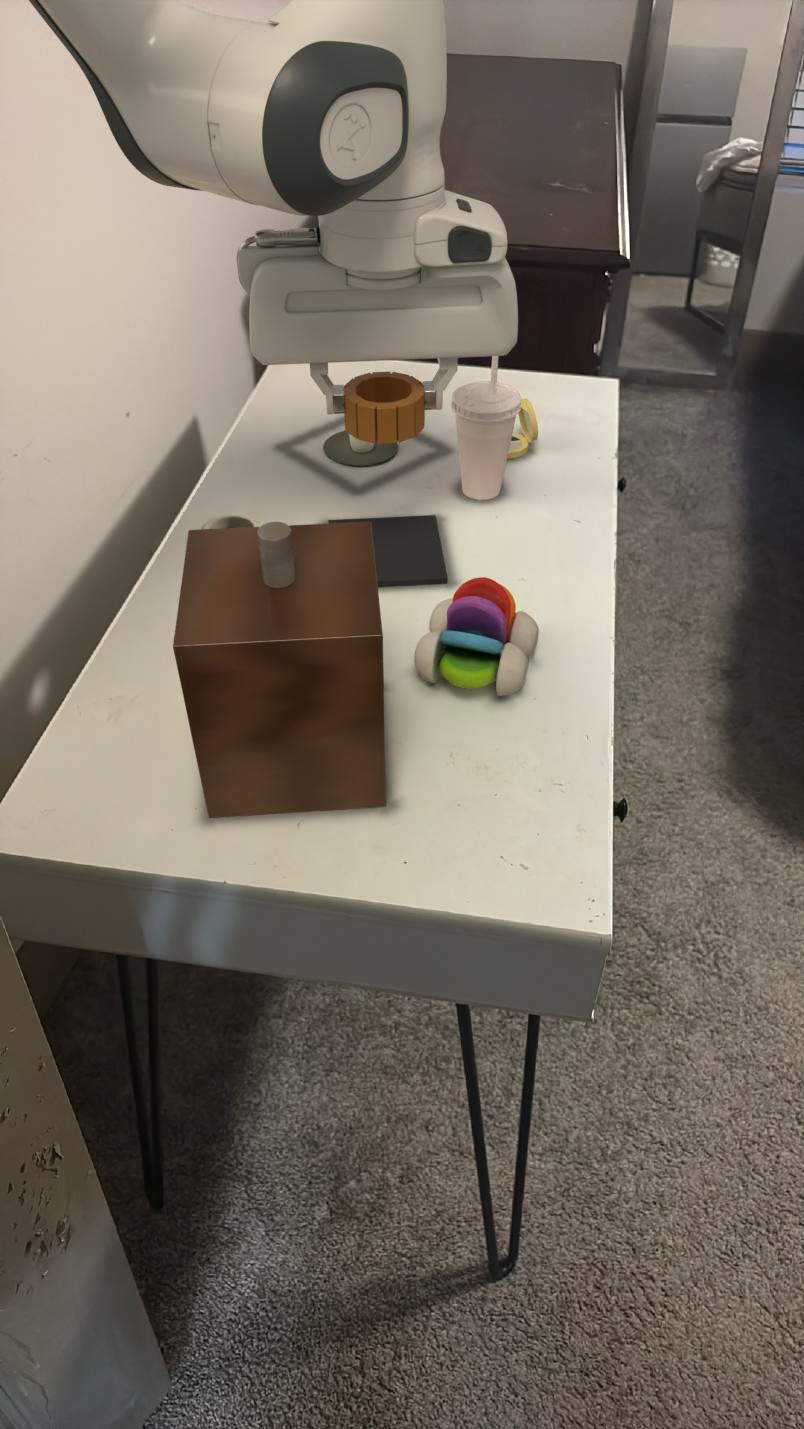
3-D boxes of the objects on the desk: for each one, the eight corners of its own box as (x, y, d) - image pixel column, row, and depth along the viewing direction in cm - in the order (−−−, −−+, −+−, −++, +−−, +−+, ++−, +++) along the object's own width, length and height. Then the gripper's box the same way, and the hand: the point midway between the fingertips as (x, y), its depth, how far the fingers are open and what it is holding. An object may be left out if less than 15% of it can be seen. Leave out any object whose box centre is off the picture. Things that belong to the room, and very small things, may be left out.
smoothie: (516, 507, 95) (528, 365, 85) (448, 507, 95) (453, 365, 85) (512, 473, 100) (523, 334, 90) (447, 472, 100) (452, 334, 90)
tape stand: (208, 818, 67) (162, 596, 54) (217, 697, 76) (180, 482, 63) (386, 807, 68) (381, 586, 55) (375, 688, 77) (369, 474, 64)
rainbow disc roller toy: (541, 639, 81) (550, 564, 76) (514, 718, 74) (522, 642, 69) (441, 619, 83) (443, 545, 78) (405, 694, 76) (405, 619, 71)
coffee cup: (282, 447, 104) (277, 402, 100) (369, 410, 109) (367, 366, 106) (357, 492, 97) (355, 445, 94) (445, 450, 103) (447, 405, 100)
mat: (331, 589, 86) (331, 583, 85) (328, 525, 93) (328, 519, 93) (447, 583, 86) (447, 577, 86) (435, 520, 94) (435, 514, 93)
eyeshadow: (479, 440, 104) (482, 395, 101) (524, 434, 105) (528, 390, 102) (492, 460, 101) (495, 415, 98) (539, 454, 102) (543, 409, 99)
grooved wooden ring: (346, 445, 78) (344, 409, 76) (343, 407, 83) (341, 373, 81) (427, 442, 79) (428, 406, 77) (420, 404, 83) (420, 369, 81)
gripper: (231, 246, 68) (253, 433, 77) (530, 236, 69) (515, 422, 78) (235, 215, 72) (255, 396, 82) (515, 206, 73) (503, 385, 83)
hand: (384, 409), depth 80 cm, fingers closed on grooved wooden ring, 6 cm apart
